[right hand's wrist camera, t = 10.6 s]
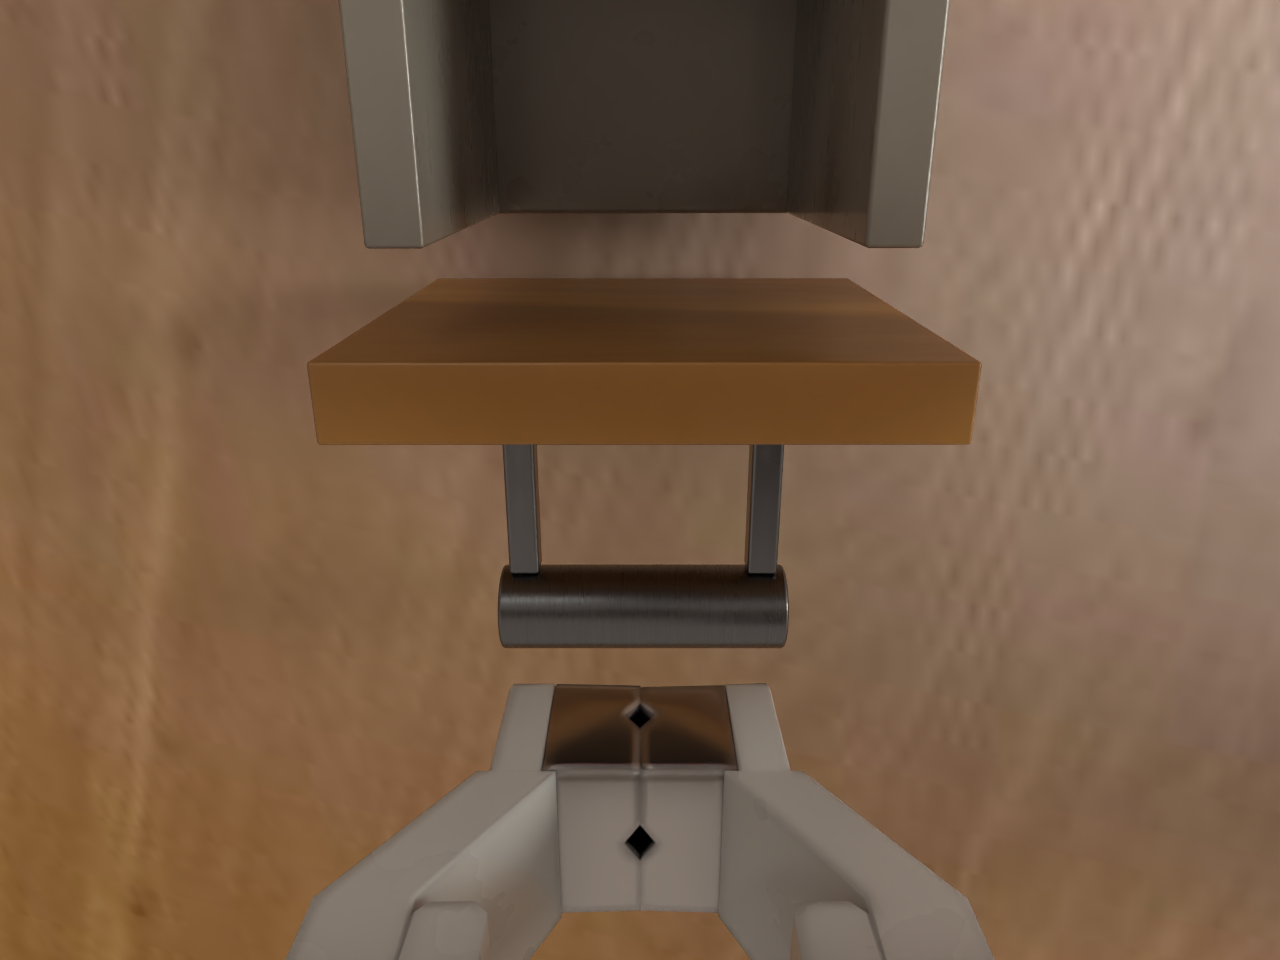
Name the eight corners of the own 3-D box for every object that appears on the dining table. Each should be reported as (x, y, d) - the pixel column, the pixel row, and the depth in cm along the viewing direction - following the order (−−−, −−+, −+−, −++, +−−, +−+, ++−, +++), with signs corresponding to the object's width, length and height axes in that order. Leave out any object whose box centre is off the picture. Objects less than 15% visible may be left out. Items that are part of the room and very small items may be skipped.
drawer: (825, 562, 22) (925, 785, 15) (459, 562, 22) (362, 784, 15) (926, -690, 15) (1261, -1679, 7) (360, -689, 15) (31, -1674, 7)
